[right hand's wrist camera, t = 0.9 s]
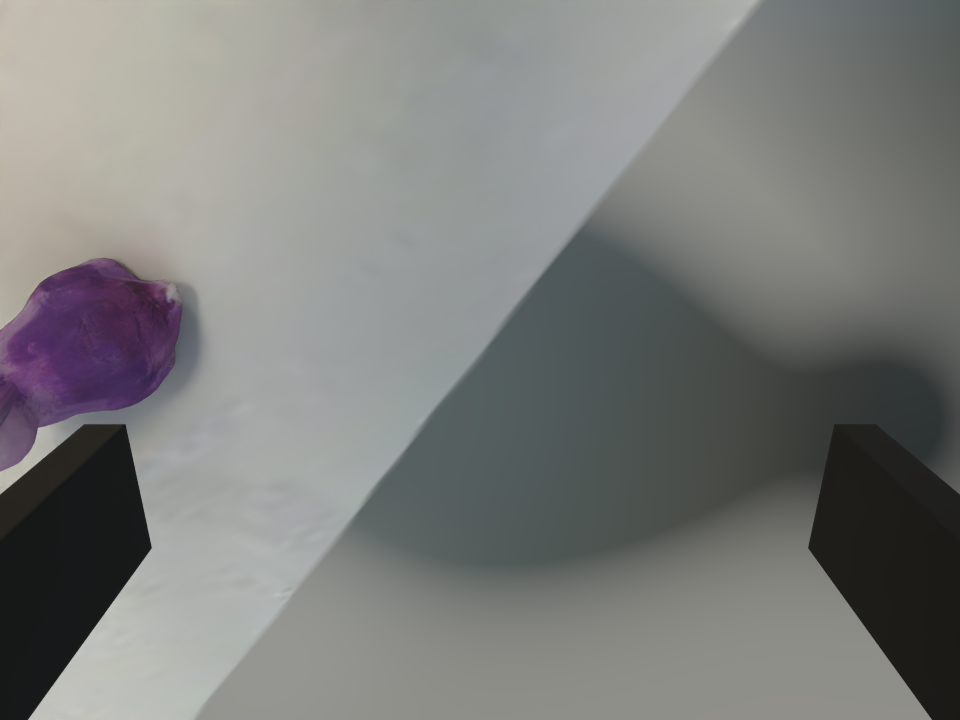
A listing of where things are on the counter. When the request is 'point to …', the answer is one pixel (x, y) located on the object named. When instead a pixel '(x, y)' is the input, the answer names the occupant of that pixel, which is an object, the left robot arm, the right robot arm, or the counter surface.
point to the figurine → (83, 349)
